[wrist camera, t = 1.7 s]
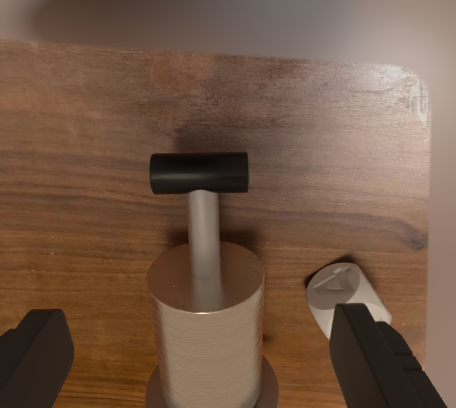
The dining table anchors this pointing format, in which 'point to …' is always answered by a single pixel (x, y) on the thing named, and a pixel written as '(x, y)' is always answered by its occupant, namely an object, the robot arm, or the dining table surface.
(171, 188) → the metal plunger pump
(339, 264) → the die
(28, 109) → the dining table surface
